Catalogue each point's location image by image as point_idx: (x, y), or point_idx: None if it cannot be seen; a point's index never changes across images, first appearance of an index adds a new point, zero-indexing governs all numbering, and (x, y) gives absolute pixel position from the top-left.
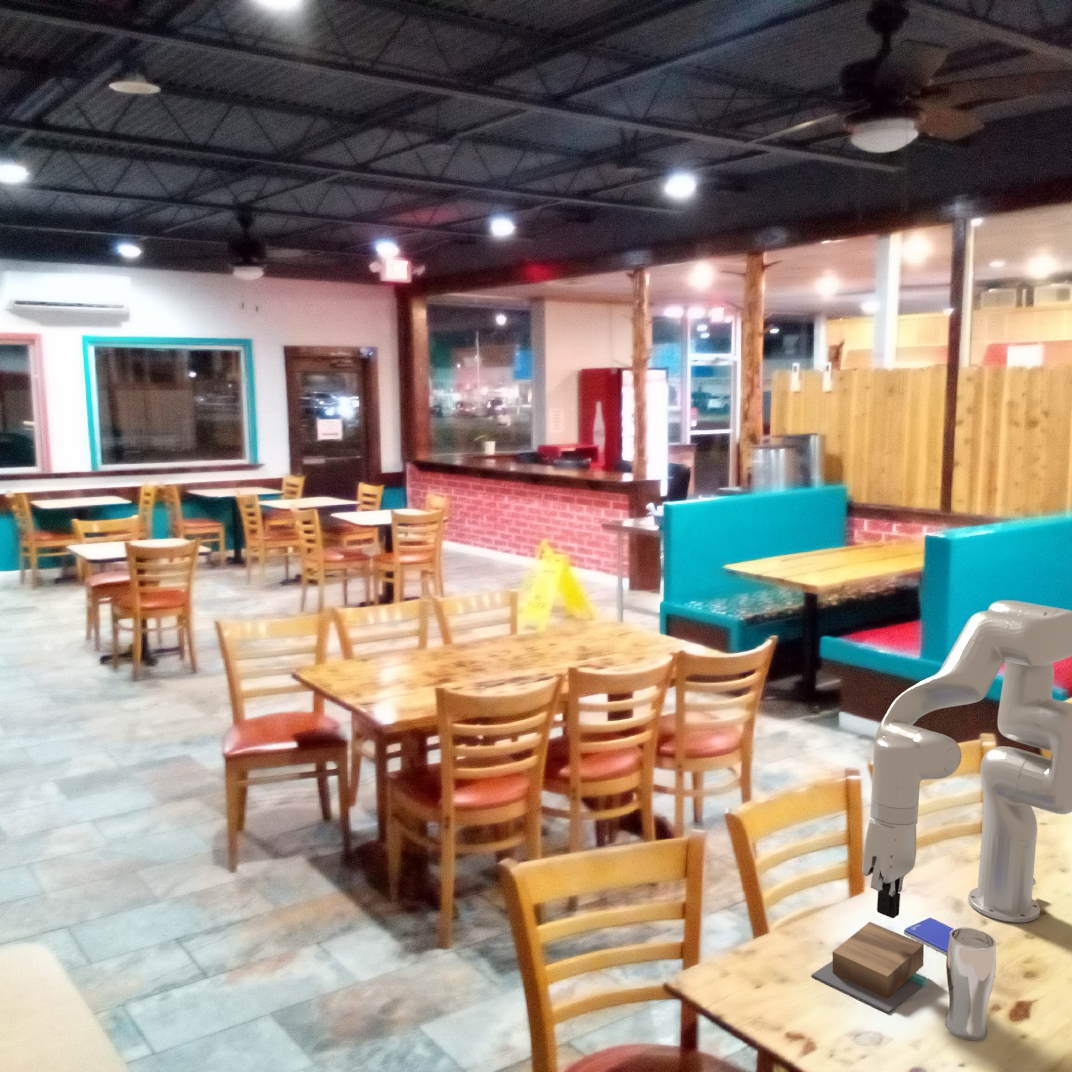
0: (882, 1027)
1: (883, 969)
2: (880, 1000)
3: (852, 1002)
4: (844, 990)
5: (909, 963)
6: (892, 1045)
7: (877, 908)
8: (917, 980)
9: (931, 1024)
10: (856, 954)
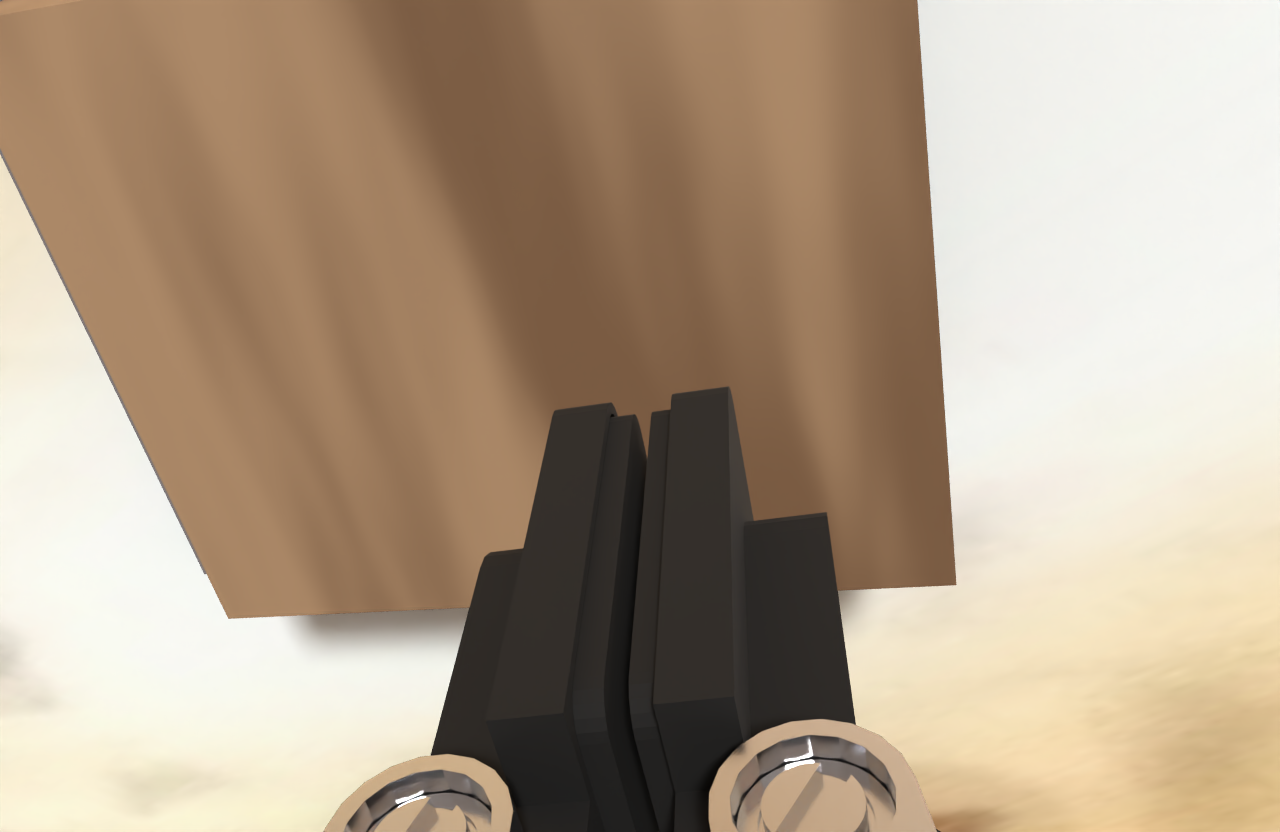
0: (67, 621)
1: (266, 548)
2: None
3: (36, 347)
4: (40, 232)
5: None
6: (12, 737)
7: (551, 439)
8: None
9: (407, 740)
10: (177, 247)
